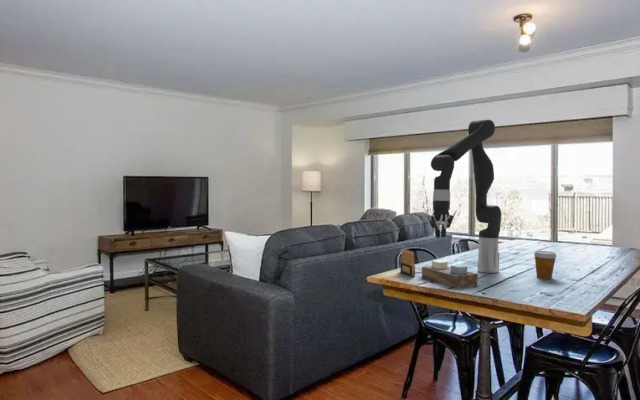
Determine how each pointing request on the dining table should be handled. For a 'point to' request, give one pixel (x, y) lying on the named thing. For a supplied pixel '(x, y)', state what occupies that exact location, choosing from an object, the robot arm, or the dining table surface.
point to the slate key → (458, 269)
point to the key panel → (450, 277)
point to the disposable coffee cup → (544, 264)
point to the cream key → (439, 264)
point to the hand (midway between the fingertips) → (440, 237)
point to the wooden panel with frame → (407, 263)
